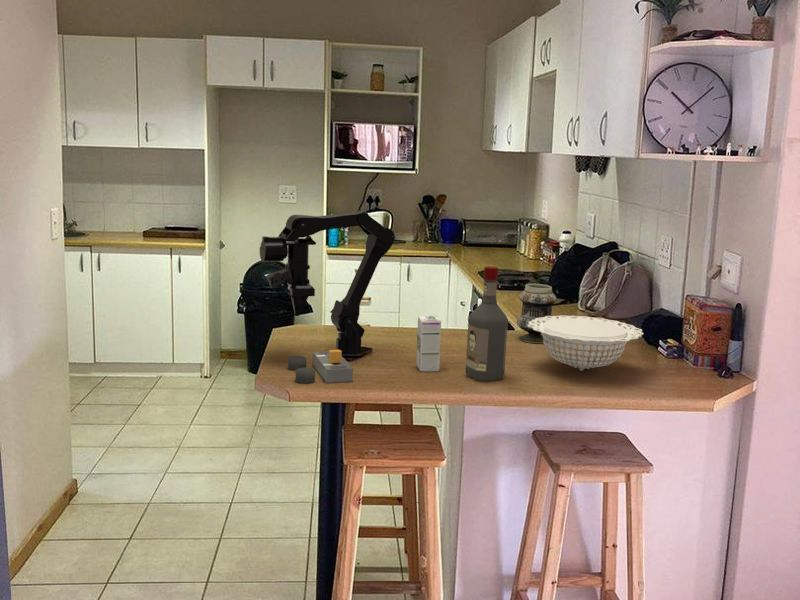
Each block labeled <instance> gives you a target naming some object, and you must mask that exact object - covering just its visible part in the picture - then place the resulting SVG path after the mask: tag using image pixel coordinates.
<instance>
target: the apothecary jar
mask: <svg viewBox="0 0 800 600" xmlns="http://www.w3.org/2000/svg"><path fill="white" fill-rule="evenodd" d="M524 287H525V288H524V290H523V291H521V292H520V293H519V300H520V301H521V302H522V306H521V315H519V316H518V317H517V319H516V325H517V327H518V328H519V329H521V330H523V331H524V332H526V333H527V334H526V333H525V334H523V335H521V336H519V338H518V340H520V341H522V342H525V343H528V344H544V342H543V336H542V333H541V332H539V331H535V330H533V328H530V327H528V325H529V323H528V322H529V321H532V320H535V319H536V318H541V317H545V316H552V311H553V310H552V307H553V305H554V304H555V303H556V302H557V296H556V295H555V293H554V292H553V287H552V286H551V285H547V284H541V283H526V284H525V286H524ZM549 318H552V317H549ZM537 322H538V321H537ZM532 323H533V322H532ZM539 323H540V322H539ZM543 323H544V322H543ZM538 326H539V325H538ZM545 342H546V341H545ZM547 343H548V341H547Z"/></svg>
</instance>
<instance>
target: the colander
mask: <svg viewBox="0 0 800 600" xmlns="http://www.w3.org/2000/svg"><path fill="white" fill-rule="evenodd" d="M549 317H551V318H549ZM537 321H538V322H537ZM532 322H533V323H532ZM539 322H540V323H539ZM543 322H544V323H543ZM528 323H529V325H528V327H530V328H533V330H535V331H539V332H541V335H542V336H543V342H544V343H543V344H544V348H545V350H546V351H547V353H548V354H549V356H551V358H553V359H554V360H556V361H558V362H559V363H562V364H565V365H569V366H570V367H573V368H574V369H576V368H578V369H579V371H580V372H581V371H584V369H588V370H589V369H590V368H591V369H594V368H600V367H606V366H609V365H611V364H613V363H615V362H616V361H617V360H619V357H621V356H622V354H623V352H624V351H625V347H626V345H627V343H628V342H630V341H634V340H639V338H642V336H643V335H644V332H643V329H641V328H639V327H636V326H635V325H633V324H629V323H626V322H621V321H619V320H614V319H607V318H603V317H591V316H585V315H580V316H579V315H578V316H577V315H551V316H545V317H541V318H536V319H535V320H532V321H529V322H528ZM538 325H539V326H538ZM545 341H546V342H545ZM547 341H548V343H547ZM564 348H565V349H564ZM591 350H592V351H591ZM596 351H598V352H596Z"/></svg>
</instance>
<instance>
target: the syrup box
mask: <svg viewBox="0 0 800 600" xmlns="http://www.w3.org/2000/svg"><path fill="white" fill-rule="evenodd" d="M416 331H417V334H416V335H417V336H416V337H417V341H416V364H415V366H416V368H417V369H418V370H419V371H420V372H440V366H441V365H440V364H441V340H442V339H441V336H442V332H441V331H442V320H441V319H440V318H439V317H438V316H436V315H421V316H418V317H417V330H416Z"/></svg>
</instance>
